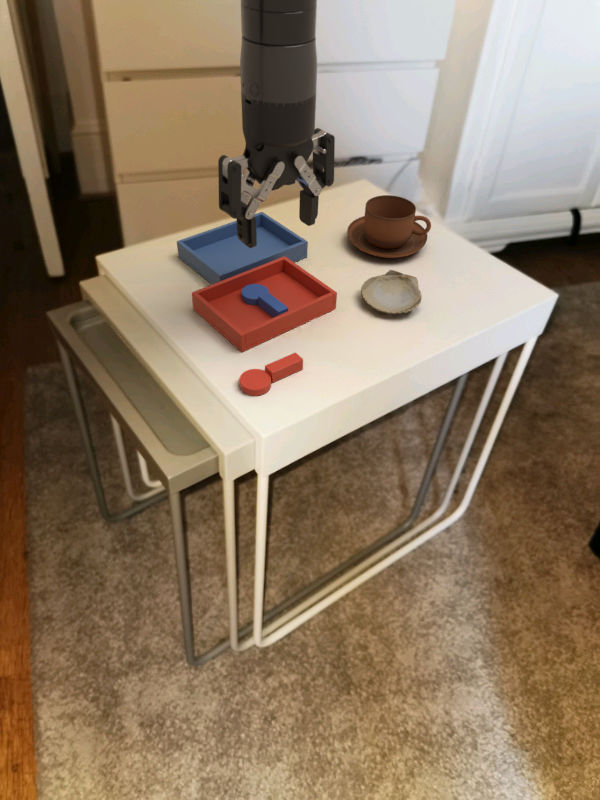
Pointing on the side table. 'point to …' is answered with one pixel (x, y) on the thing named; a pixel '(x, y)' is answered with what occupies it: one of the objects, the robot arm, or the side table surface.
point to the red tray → (251, 321)
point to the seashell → (392, 292)
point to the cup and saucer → (389, 228)
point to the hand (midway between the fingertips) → (278, 233)
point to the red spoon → (269, 374)
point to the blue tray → (239, 249)
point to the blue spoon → (263, 299)
